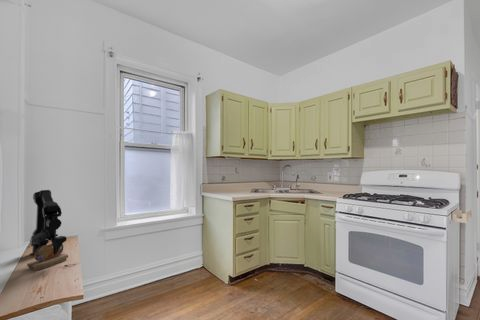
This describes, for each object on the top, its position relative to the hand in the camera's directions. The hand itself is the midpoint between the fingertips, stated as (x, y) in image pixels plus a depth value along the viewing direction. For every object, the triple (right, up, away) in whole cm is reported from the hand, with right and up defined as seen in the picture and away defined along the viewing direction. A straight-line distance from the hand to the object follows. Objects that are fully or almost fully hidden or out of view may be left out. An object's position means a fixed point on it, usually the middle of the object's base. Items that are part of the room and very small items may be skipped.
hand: (48, 253), depth 139 cm
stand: (0, -6, 0) cm, 6 cm away
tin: (0, -3, 0) cm, 3 cm away
